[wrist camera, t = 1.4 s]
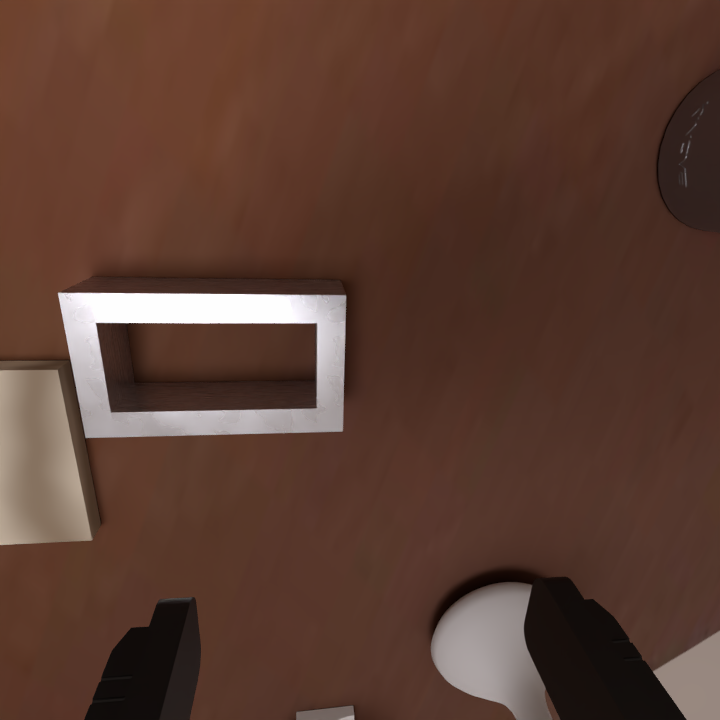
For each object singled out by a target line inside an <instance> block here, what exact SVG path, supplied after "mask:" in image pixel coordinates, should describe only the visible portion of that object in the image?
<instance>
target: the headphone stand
mask: <svg viewBox="0 0 720 720" xmlns="http://www.w3.org/2000/svg"><path fill="white" fill-rule="evenodd" d="M296 720H354V708H353V706H344V707H336V708H327V709H318V710H310V711H301V712H296Z"/></svg>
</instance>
